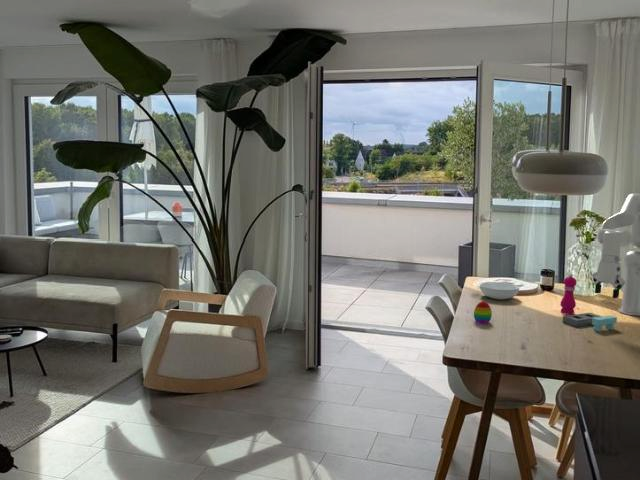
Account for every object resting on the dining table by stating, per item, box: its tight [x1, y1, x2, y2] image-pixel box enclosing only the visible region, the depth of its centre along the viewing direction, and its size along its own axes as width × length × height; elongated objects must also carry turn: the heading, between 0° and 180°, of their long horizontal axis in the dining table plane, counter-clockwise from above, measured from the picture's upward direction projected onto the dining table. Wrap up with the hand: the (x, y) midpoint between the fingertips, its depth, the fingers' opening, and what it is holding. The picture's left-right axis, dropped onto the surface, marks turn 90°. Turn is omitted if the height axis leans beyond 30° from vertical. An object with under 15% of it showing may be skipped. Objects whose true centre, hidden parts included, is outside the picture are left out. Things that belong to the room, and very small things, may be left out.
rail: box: [562, 312, 604, 328], centre depth 313 cm, size 18×8×3 cm, turn 117°
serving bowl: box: [479, 281, 520, 301], centre depth 359 cm, size 21×21×7 cm
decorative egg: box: [473, 300, 493, 324], centre depth 309 cm, size 8×8×10 cm
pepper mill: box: [559, 273, 577, 315], centre depth 329 cm, size 7×7×20 cm
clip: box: [592, 315, 618, 332], centre depth 302 cm, size 12×4×6 cm, turn 117°
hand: (606, 295), depth 300 cm, fingers open, 9 cm apart
